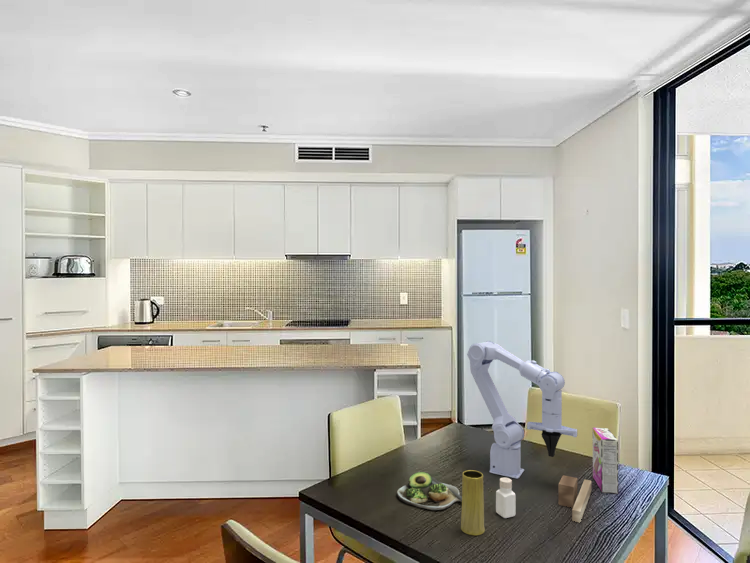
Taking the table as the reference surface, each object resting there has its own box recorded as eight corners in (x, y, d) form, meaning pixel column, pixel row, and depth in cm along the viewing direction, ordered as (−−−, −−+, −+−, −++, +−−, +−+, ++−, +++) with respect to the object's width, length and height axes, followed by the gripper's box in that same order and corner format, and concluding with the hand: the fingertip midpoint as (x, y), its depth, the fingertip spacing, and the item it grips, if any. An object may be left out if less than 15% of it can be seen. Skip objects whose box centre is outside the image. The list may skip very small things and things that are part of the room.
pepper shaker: (495, 512, 128) (495, 478, 128) (506, 509, 130) (506, 475, 130) (504, 519, 125) (504, 484, 125) (516, 516, 126) (516, 481, 126)
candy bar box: (591, 477, 151) (591, 426, 151) (608, 478, 150) (608, 427, 150) (600, 493, 140) (601, 438, 140) (618, 494, 139) (619, 439, 139)
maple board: (572, 520, 124) (572, 509, 124) (584, 489, 143) (584, 479, 143) (580, 523, 123) (580, 511, 123) (591, 490, 142) (591, 480, 142)
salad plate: (476, 495, 139) (476, 480, 139) (449, 520, 125) (449, 503, 125) (420, 478, 151) (420, 464, 151) (389, 500, 136) (389, 484, 136)
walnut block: (558, 504, 133) (558, 483, 133) (562, 495, 139) (562, 475, 139) (573, 508, 131) (573, 487, 131) (577, 498, 137) (577, 478, 137)
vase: (457, 523, 123) (458, 469, 122) (480, 522, 123) (480, 468, 123) (464, 536, 116) (464, 479, 116) (488, 535, 117) (488, 478, 117)
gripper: (524, 411, 145) (524, 455, 145) (574, 419, 137) (574, 465, 138) (530, 406, 151) (530, 448, 151) (578, 413, 143) (578, 457, 144)
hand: (551, 455), depth 145 cm, fingers closed
